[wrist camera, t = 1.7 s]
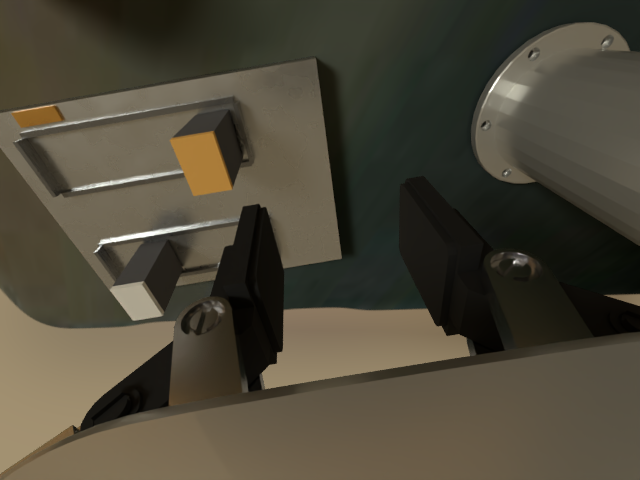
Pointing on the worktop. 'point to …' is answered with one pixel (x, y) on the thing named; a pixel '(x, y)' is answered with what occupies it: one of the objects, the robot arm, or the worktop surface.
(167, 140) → the console
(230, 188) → the block
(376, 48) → the worktop surface
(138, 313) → the fader
